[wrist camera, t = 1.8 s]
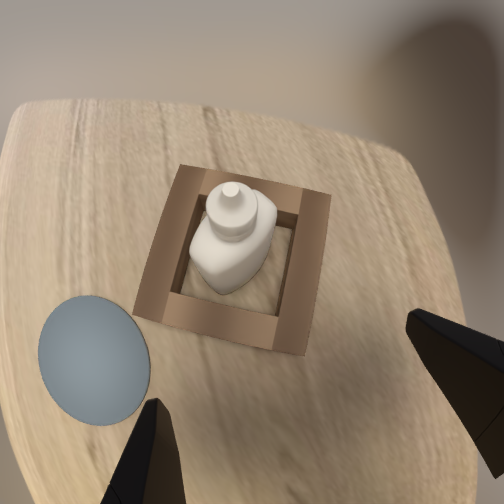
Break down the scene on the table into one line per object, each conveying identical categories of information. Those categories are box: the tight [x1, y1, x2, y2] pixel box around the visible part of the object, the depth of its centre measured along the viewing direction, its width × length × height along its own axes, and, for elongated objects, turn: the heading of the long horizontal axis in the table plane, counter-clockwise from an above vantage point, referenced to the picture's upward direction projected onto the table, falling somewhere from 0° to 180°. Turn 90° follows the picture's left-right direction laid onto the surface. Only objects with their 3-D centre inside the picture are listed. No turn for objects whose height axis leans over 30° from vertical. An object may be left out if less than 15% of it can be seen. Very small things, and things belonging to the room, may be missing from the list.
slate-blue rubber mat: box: [38, 296, 150, 426], centre depth 21 cm, size 11×11×1 cm
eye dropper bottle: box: [189, 182, 277, 295], centre depth 18 cm, size 4×6×12 cm
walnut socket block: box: [132, 164, 331, 356], centre depth 23 cm, size 12×12×3 cm
